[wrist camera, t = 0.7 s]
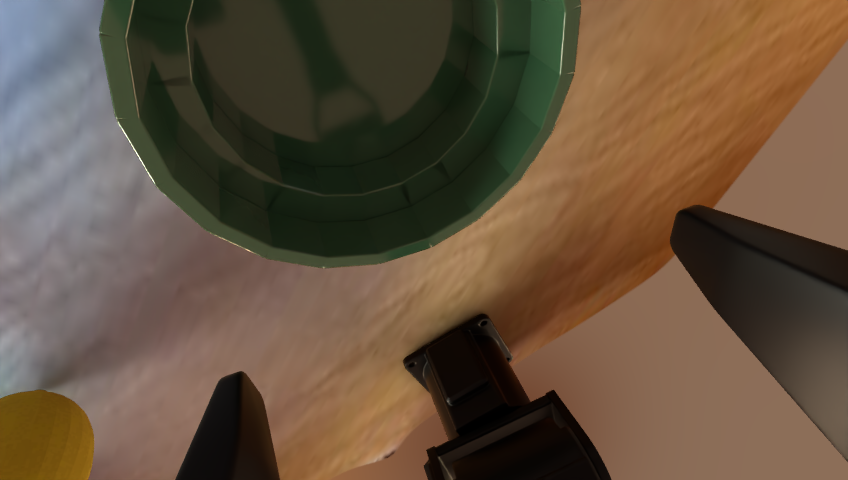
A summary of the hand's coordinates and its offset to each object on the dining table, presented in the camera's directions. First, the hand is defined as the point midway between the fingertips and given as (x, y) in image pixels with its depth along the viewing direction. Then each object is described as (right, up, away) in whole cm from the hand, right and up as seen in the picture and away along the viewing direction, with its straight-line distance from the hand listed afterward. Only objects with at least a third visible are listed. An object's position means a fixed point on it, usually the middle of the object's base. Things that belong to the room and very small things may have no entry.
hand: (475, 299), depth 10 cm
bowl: (-4, +9, +9) cm, 14 cm away
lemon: (-20, -6, +15) cm, 26 cm away
